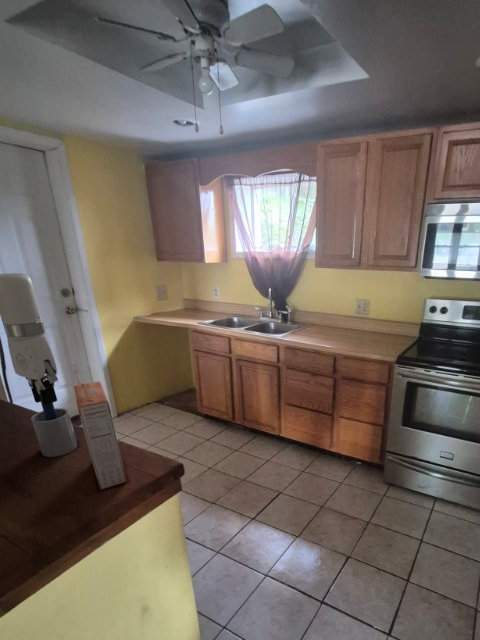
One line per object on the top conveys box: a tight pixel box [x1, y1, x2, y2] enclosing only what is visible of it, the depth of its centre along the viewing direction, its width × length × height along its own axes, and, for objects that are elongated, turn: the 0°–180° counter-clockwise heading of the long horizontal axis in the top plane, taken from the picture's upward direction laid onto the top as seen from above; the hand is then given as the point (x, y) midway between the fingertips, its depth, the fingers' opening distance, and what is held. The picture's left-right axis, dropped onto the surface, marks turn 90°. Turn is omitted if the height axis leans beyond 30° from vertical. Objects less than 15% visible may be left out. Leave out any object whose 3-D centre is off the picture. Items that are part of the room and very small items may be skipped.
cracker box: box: [73, 380, 128, 490], centre depth 85 cm, size 14×6×21 cm, turn 33°
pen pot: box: [30, 407, 78, 458], centre depth 97 cm, size 8×8×10 cm
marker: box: [35, 379, 57, 421], centre depth 93 cm, size 2×2×11 cm
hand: (46, 401), depth 93 cm, fingers closed on marker, 2 cm apart
